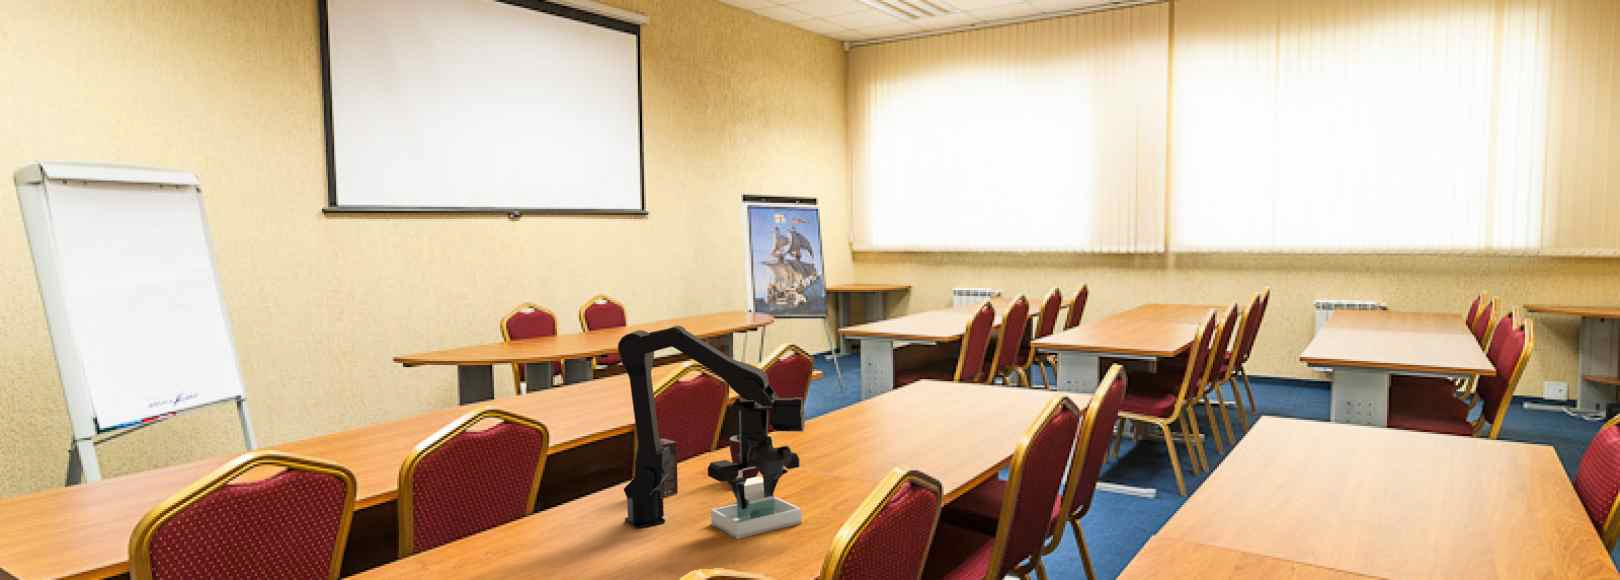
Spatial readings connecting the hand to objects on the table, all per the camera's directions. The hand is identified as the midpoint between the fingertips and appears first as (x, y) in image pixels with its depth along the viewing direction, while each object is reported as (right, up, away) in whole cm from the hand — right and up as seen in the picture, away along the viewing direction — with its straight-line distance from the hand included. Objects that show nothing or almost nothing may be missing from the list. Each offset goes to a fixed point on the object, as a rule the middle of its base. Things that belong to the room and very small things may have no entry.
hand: (755, 506), depth 180 cm
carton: (-1, -3, +14) cm, 15 cm away
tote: (0, -4, 0) cm, 4 cm away
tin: (0, -3, 0) cm, 3 cm away
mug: (-4, -2, +32) cm, 32 cm away
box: (-23, -3, +24) cm, 33 cm away
